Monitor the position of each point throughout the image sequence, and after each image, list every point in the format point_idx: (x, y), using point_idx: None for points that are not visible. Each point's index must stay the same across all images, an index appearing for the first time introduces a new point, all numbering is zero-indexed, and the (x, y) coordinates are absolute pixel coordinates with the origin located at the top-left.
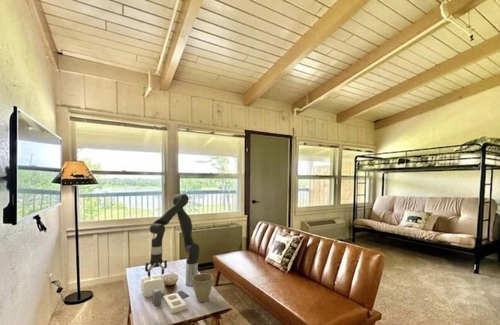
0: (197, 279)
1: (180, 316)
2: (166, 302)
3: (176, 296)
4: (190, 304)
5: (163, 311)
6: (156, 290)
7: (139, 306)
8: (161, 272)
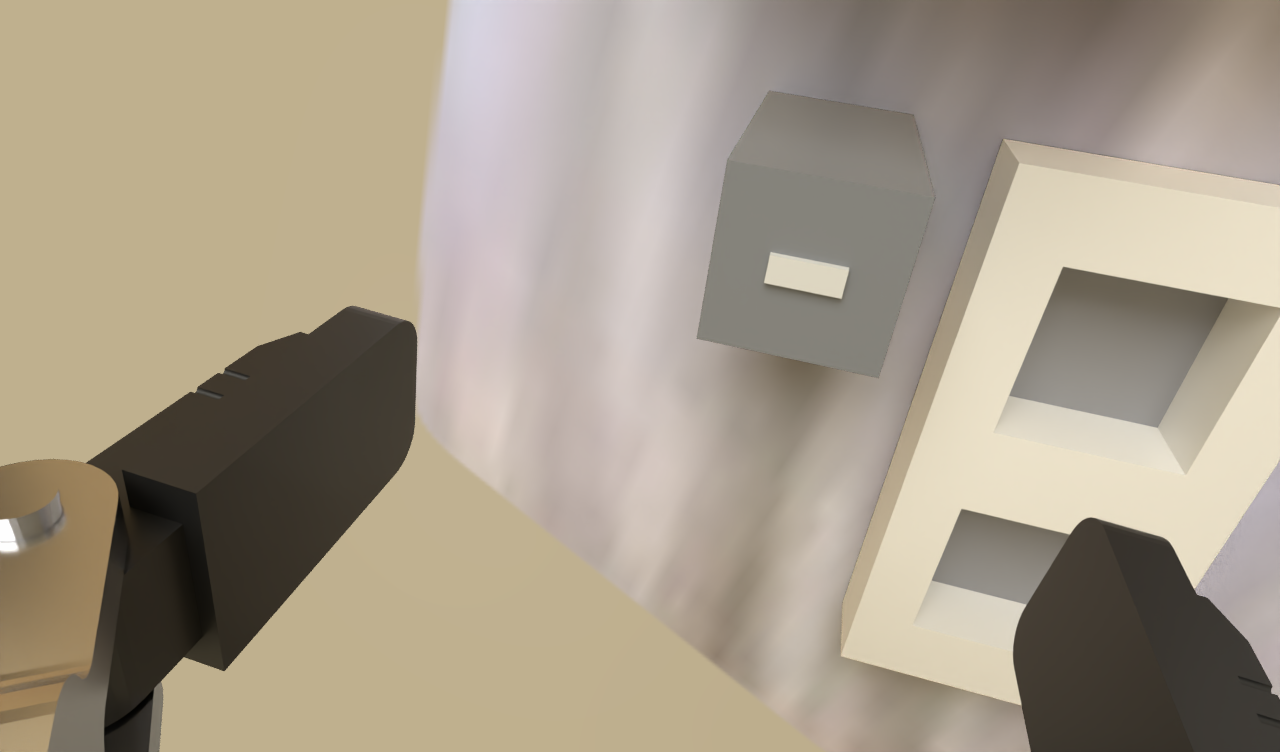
0: None
1: (891, 716)
2: (925, 402)
3: (1233, 388)
4: (1253, 620)
5: (783, 485)
6: (785, 288)
7: (520, 53)
8: (1110, 598)
